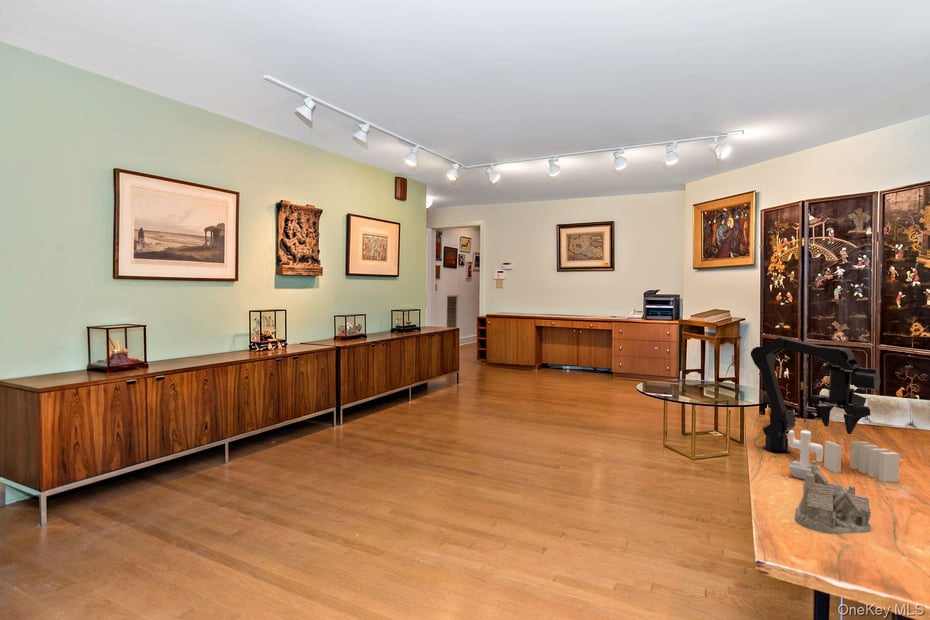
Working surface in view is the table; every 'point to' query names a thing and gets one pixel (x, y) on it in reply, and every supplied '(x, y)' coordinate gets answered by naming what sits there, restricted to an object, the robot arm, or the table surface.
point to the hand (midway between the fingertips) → (837, 430)
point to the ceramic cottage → (831, 506)
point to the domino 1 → (832, 456)
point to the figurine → (804, 453)
